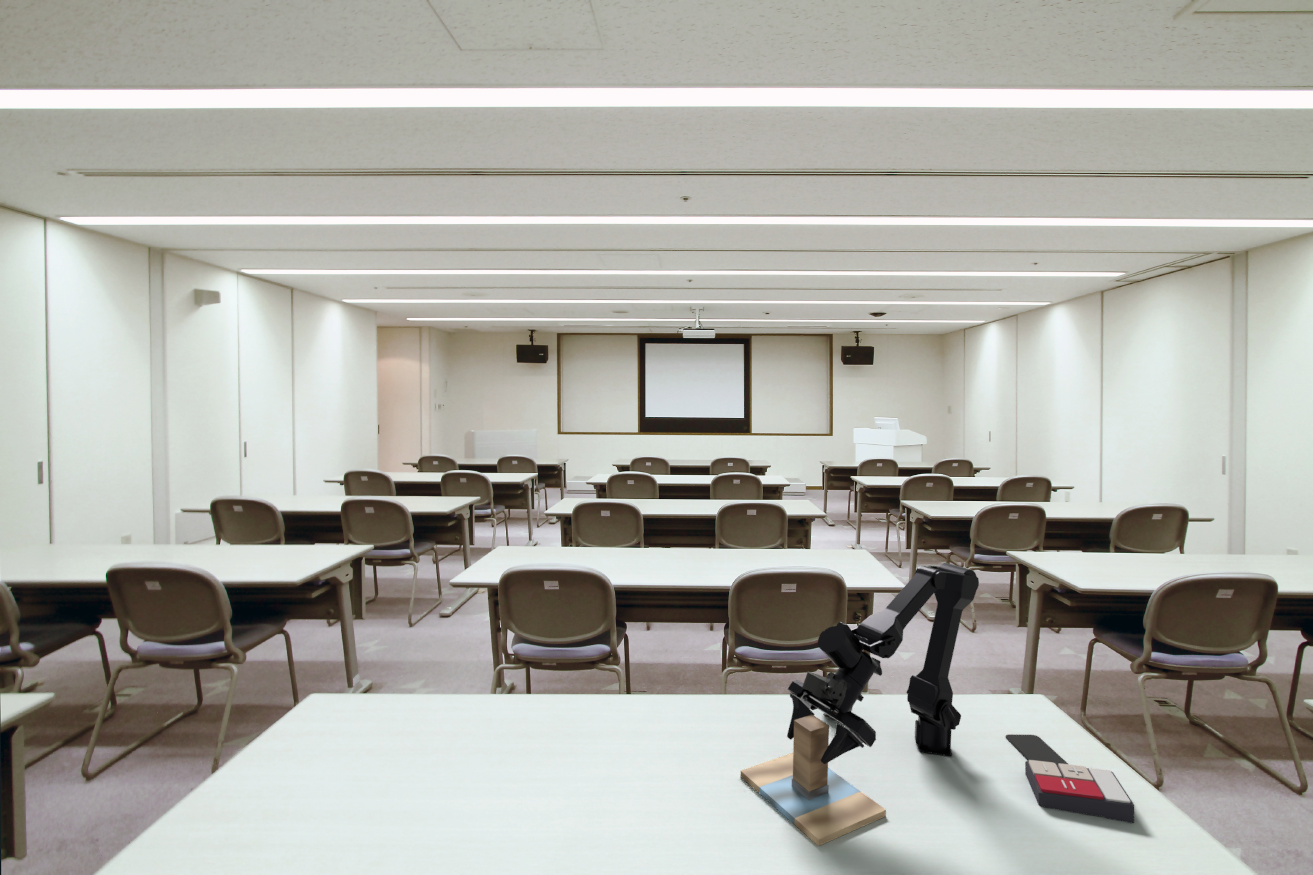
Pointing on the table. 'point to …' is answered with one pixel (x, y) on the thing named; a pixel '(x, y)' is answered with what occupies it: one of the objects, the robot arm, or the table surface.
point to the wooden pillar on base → (810, 757)
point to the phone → (1034, 748)
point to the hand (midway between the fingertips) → (805, 749)
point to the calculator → (1079, 790)
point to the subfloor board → (813, 801)
